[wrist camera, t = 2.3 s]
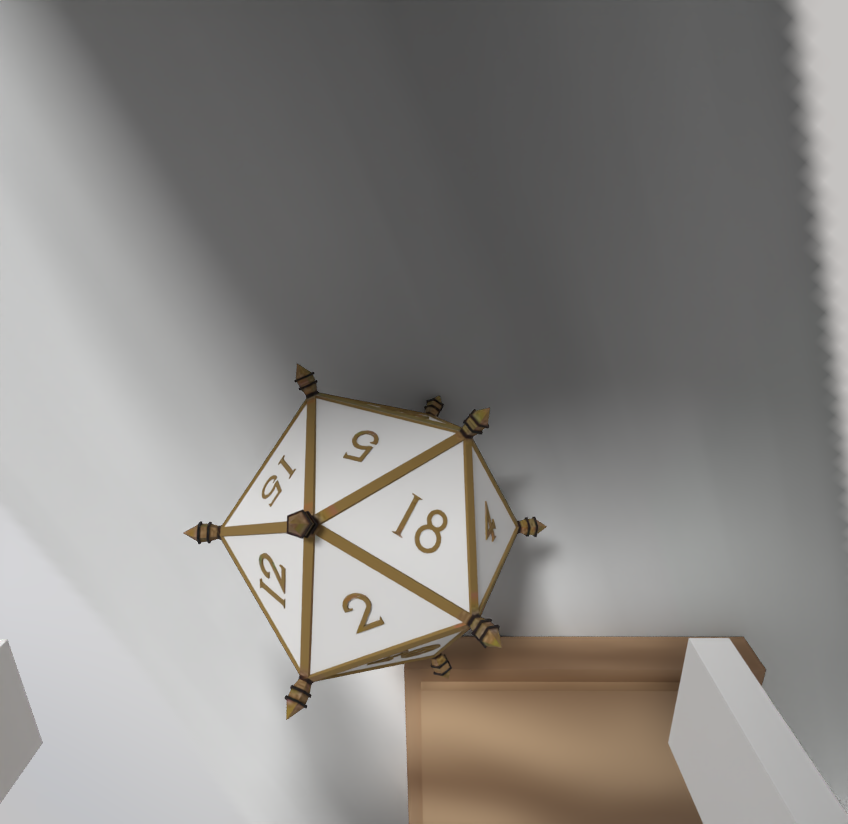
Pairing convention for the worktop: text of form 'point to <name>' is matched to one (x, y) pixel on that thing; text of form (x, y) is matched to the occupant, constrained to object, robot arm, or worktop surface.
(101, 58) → the worktop surface
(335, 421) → the game die
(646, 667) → the plate
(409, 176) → the worktop surface
